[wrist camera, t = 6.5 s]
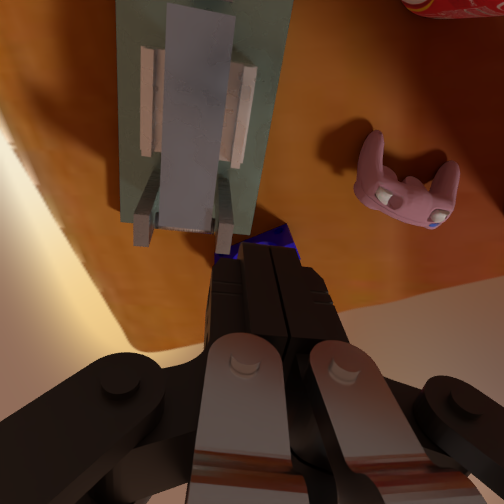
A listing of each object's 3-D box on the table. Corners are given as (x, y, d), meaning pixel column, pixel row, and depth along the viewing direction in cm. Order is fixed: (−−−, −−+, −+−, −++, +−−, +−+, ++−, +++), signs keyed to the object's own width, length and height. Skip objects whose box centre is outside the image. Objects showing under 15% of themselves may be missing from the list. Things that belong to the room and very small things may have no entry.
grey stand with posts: (293, -17, 26) (333, -41, 17) (248, 227, 36) (259, 290, 27) (119, -56, 24) (65, -105, 15) (124, 214, 34) (93, 277, 25)
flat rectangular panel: (239, 18, 20) (241, 17, 19) (213, 229, 27) (213, 238, 26) (164, 2, 20) (160, 1, 18) (156, 223, 26) (153, 232, 25)
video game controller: (342, 158, 35) (347, 214, 31) (372, 122, 31) (381, 180, 27) (425, 189, 37) (439, 244, 33) (461, 158, 34) (481, 216, 30)
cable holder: (228, 276, 39) (229, 299, 36) (214, 251, 37) (214, 273, 34) (297, 249, 38) (305, 270, 35) (286, 222, 36) (293, 242, 33)
